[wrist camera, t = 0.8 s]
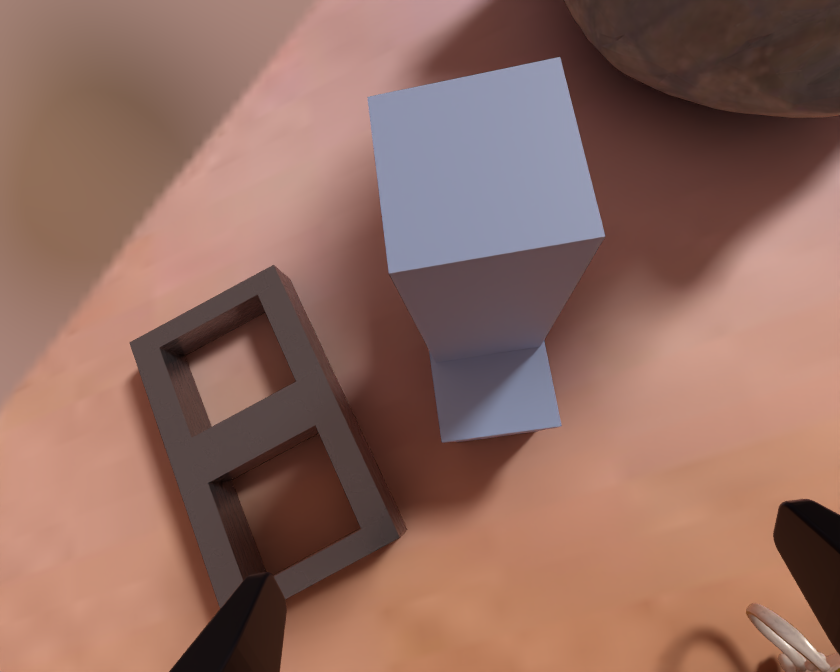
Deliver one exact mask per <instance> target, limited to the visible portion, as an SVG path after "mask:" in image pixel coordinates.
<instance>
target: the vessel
mask: <svg viewBox="0 0 840 672" xmlns="http://www.w3.org/2000/svg"><path fill="white" fill-rule="evenodd" d="M564 2H565V3H566V5H567V7H568V9H569V11H570V13H571V15H572V17H573V19H574V20H575V21H576V23H577V24H578V25H579V26H580V28H581V29H582V31H583V33H584V34H585V36H586V38H587V39H588V40H589V41H590V42H591V43H592V44H593V45H594V46H595V47H596V48H597V49H598V51H599V52H600V53H601V54H602V55H603V56H604V57H605V58H606V59H607V60H608V61H609V62H610V63H611V64H612V65H613V66H614V67H615V68H617V69H618V70H619V71H621V72H622V73H624V74H626V75H628V76H630V77H632V78H634V79H636V80H638V81H640V82H642V83H644V84H646V85H648V86H650V87H652V88H654V89H656V90H659V91H661V92H663V93H665V94H668V95H671V96H674V97H678V98H681V99H684V100H688V101H691V102H694V103H698V104H701V105H704V106H708V107H710V108H713V109H719V110H725V111H731V112H737V113H746V114H757V115H769V116H780V117H789V118H807V117H831V116H839V115H840V0H564Z"/></svg>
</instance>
